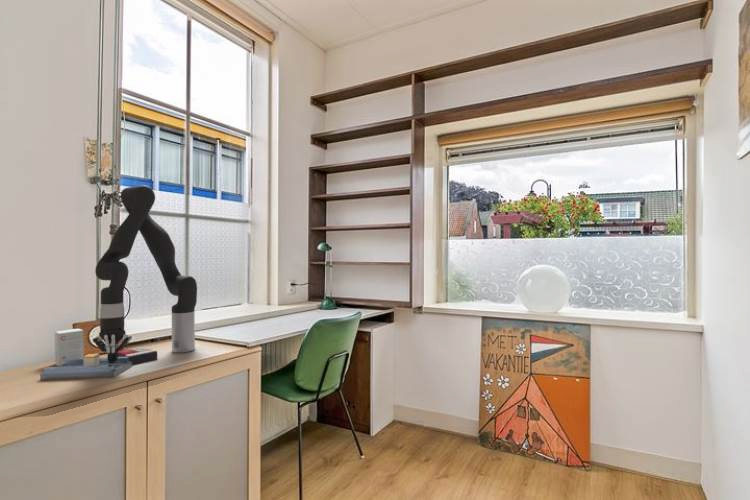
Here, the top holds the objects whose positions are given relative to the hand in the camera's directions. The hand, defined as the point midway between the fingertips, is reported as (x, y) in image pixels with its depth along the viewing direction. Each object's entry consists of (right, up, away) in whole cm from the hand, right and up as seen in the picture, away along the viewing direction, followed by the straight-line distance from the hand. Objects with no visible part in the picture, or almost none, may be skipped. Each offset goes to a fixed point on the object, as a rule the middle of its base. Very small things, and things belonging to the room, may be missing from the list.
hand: (112, 362), depth 147 cm
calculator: (-2, -4, +17) cm, 17 cm away
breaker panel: (-8, -4, -1) cm, 9 cm away
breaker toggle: (-7, -1, -1) cm, 7 cm away
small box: (-25, -4, +11) cm, 28 cm away
